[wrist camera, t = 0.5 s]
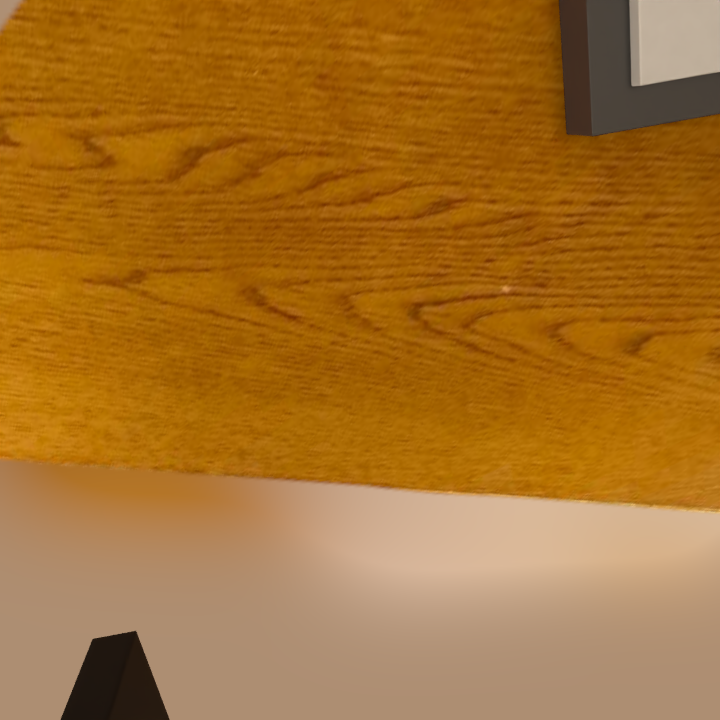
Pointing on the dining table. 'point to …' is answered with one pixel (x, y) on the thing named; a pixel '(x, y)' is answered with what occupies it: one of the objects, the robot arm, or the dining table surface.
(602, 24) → the scale
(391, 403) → the dining table surface
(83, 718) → the robot arm
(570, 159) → the dining table surface
